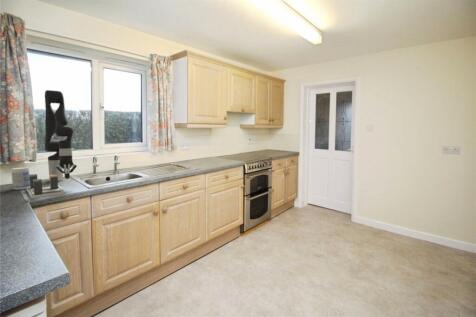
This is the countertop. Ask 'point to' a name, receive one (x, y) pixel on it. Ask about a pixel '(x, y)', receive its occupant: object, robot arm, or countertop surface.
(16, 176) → the supplement tub
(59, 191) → the grey base plate
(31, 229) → the countertop surface
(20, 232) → the countertop surface
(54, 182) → the breaker
